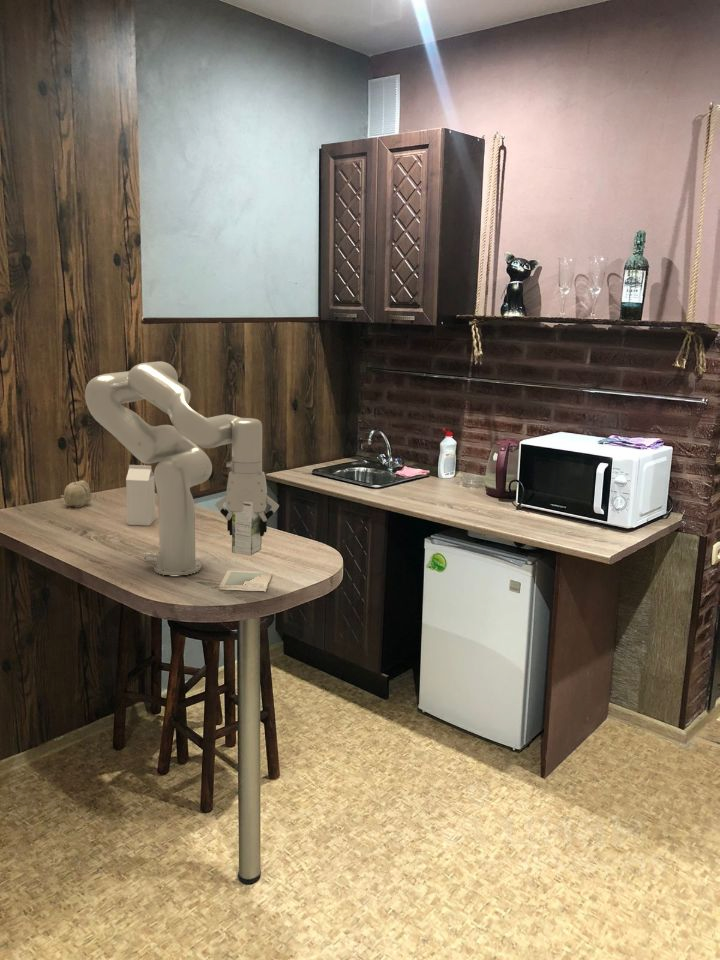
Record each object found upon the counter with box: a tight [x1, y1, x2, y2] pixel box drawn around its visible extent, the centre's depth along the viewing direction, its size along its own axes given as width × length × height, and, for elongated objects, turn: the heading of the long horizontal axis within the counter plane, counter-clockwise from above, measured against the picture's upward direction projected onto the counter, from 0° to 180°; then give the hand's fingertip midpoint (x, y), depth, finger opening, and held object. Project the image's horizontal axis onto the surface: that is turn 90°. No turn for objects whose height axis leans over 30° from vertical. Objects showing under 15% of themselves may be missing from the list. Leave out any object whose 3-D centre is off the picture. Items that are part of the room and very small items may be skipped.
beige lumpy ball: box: [60, 480, 92, 508], centre depth 272 cm, size 9×8×10 cm
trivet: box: [218, 570, 265, 588], centre depth 208 cm, size 12×12×1 cm
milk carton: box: [125, 464, 156, 526], centre depth 255 cm, size 7×7×19 cm
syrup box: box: [231, 500, 263, 556], centre depth 205 cm, size 6×6×14 cm
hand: (247, 533), depth 205 cm, fingers closed on syrup box, 7 cm apart
